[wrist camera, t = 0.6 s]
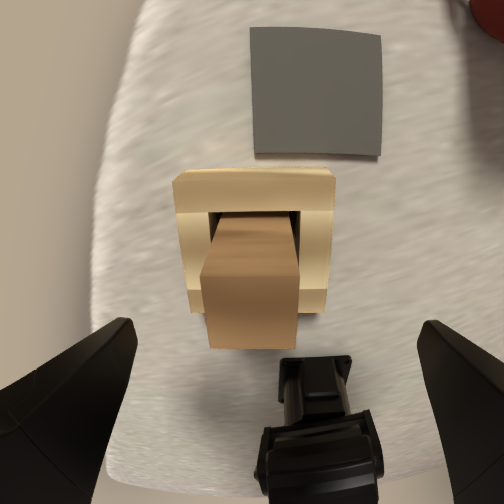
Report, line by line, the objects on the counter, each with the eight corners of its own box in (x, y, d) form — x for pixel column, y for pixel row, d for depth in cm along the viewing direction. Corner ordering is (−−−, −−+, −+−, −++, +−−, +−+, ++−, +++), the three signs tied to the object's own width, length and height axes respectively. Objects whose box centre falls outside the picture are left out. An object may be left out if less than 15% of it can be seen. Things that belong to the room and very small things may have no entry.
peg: (285, 258, 22) (295, 348, 14) (229, 258, 22) (210, 348, 14) (286, 204, 20) (299, 275, 12) (225, 205, 20) (199, 276, 12)
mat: (378, 154, 18) (380, 155, 18) (254, 151, 19) (253, 152, 18) (377, 37, 15) (380, 35, 14) (250, 29, 15) (249, 27, 15)
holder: (318, 287, 23) (324, 312, 20) (198, 288, 24) (190, 312, 21) (325, 167, 19) (335, 178, 16) (185, 170, 19) (172, 181, 17)
